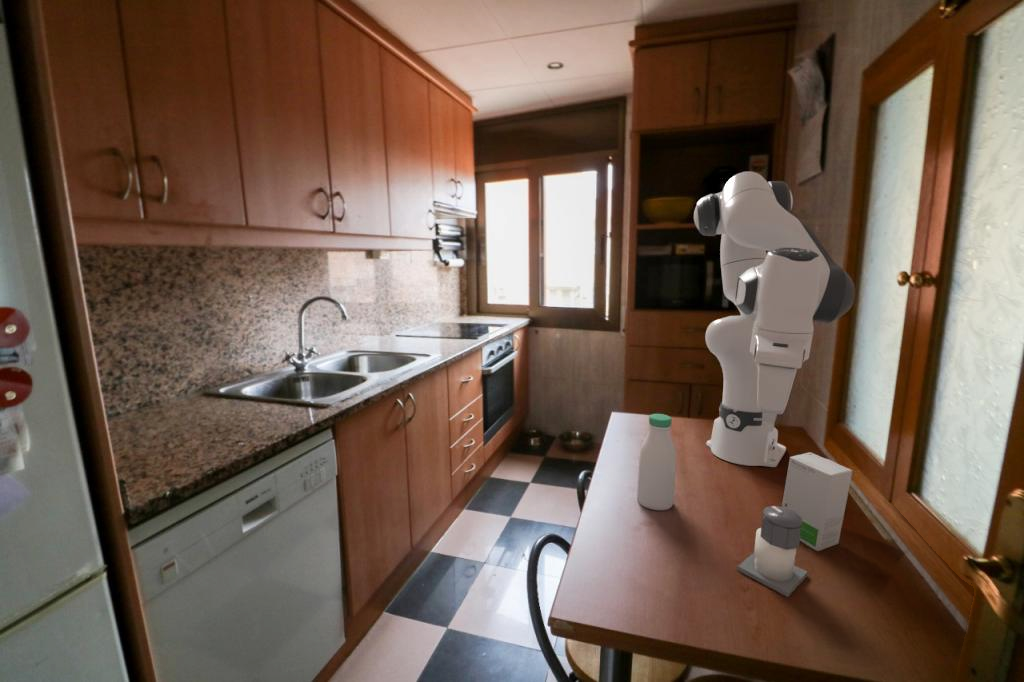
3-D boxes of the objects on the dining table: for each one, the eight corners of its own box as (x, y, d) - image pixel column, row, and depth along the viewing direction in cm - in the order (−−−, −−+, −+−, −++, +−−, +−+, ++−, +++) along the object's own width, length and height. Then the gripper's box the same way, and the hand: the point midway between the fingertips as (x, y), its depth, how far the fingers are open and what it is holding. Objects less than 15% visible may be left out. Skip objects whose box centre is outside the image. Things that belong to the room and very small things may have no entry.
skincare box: (777, 528, 90) (786, 455, 87) (799, 521, 93) (808, 450, 90) (819, 553, 82) (831, 474, 80) (842, 544, 85) (854, 468, 82)
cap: (807, 547, 73) (810, 520, 72) (777, 550, 72) (780, 524, 72) (781, 527, 79) (784, 503, 78) (753, 530, 78) (756, 505, 77)
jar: (758, 552, 83) (763, 503, 81) (806, 575, 76) (814, 523, 75) (737, 570, 78) (742, 518, 76) (788, 597, 72) (795, 541, 70)
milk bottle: (675, 513, 95) (682, 424, 92) (638, 509, 97) (643, 421, 93) (670, 495, 103) (676, 411, 99) (635, 491, 104) (640, 409, 100)
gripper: (761, 332, 87) (752, 399, 90) (755, 354, 70) (743, 436, 73) (800, 336, 84) (788, 406, 87) (803, 360, 67) (788, 446, 70)
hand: (768, 420), depth 80 cm, fingers open, 8 cm apart
